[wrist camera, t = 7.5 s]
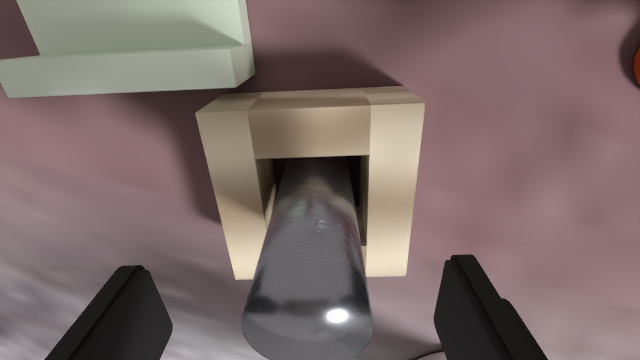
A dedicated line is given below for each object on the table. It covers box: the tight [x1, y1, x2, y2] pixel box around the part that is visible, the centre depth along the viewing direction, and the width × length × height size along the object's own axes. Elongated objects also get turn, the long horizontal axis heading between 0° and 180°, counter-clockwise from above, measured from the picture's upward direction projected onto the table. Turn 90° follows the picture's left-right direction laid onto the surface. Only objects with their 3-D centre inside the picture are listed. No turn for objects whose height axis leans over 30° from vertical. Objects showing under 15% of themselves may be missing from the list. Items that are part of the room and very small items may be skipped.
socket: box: [195, 86, 425, 280], centre depth 17 cm, size 10×10×4 cm
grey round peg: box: [242, 156, 374, 360], centre depth 14 cm, size 4×4×11 cm
